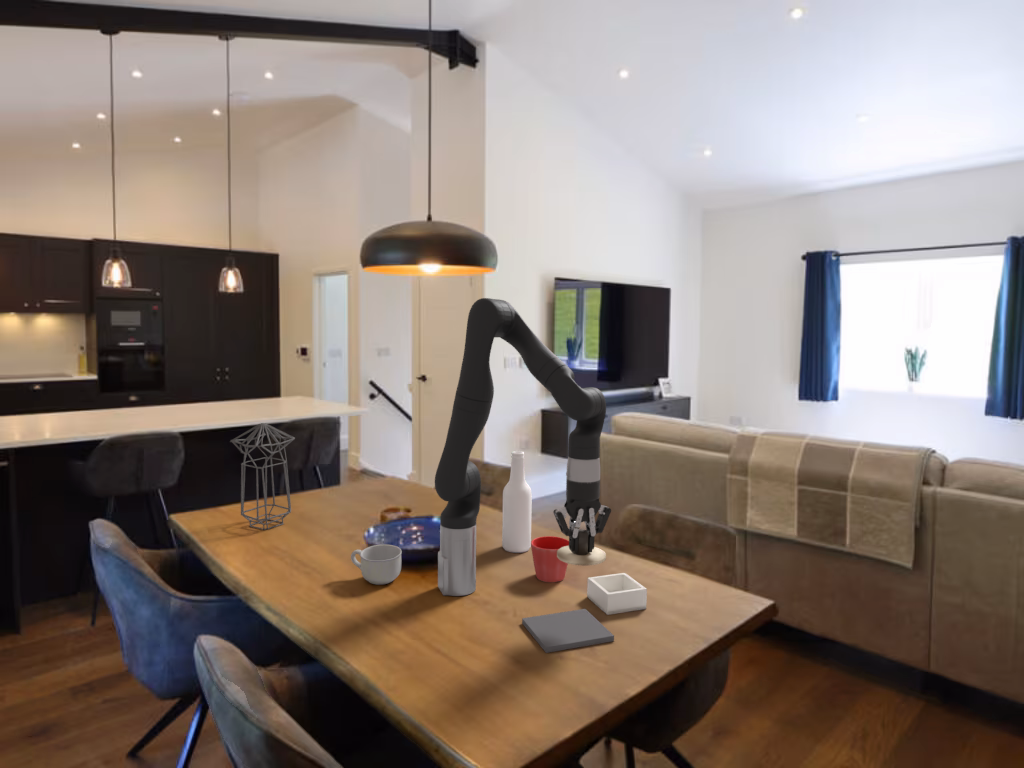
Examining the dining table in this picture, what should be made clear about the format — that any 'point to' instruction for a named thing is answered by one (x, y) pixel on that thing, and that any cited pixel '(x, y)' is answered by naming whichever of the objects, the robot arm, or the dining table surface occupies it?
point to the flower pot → (548, 558)
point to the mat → (567, 630)
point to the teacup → (379, 563)
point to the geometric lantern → (234, 441)
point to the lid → (581, 552)
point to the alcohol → (517, 508)
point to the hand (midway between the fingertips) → (581, 551)
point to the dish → (616, 593)
